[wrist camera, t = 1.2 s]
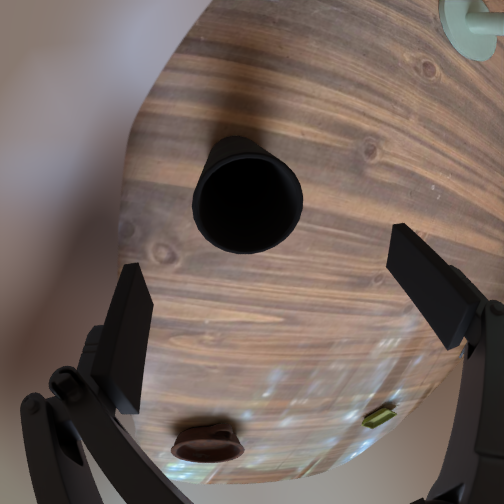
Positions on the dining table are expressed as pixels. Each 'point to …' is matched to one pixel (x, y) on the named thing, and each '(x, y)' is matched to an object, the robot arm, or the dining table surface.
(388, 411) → the green square tray
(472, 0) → the bowl
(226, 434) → the dish
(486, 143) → the dining table surface
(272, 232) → the cup
